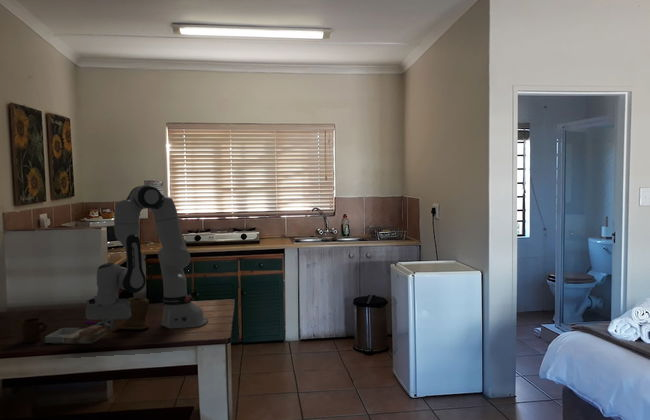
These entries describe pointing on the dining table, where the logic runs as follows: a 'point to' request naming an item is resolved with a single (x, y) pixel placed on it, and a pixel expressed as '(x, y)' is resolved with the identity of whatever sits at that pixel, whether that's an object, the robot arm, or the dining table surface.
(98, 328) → the tile
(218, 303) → the dining table surface
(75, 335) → the board
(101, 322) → the squeegee
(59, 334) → the tray
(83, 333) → the tile
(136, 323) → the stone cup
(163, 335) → the dining table surface
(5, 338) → the dining table surface
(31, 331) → the mug
